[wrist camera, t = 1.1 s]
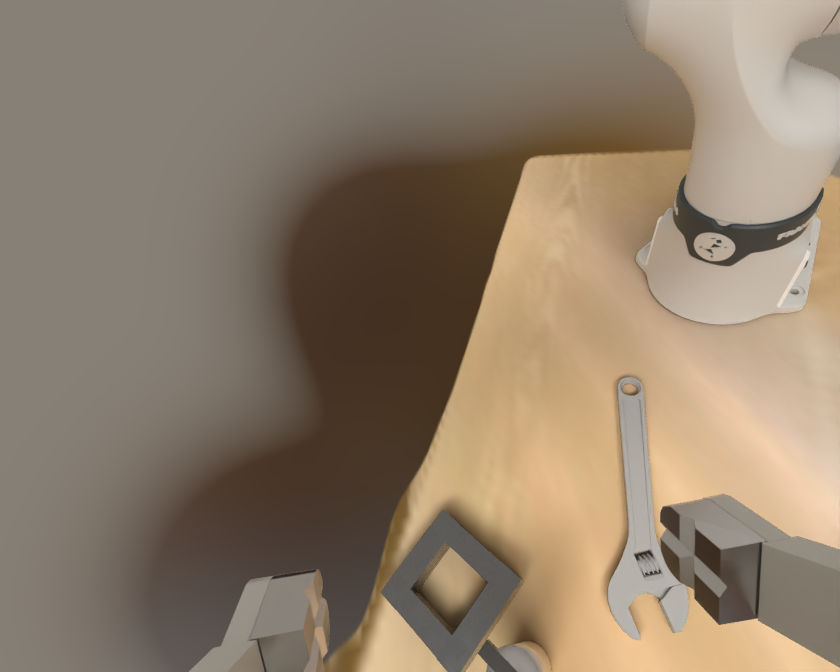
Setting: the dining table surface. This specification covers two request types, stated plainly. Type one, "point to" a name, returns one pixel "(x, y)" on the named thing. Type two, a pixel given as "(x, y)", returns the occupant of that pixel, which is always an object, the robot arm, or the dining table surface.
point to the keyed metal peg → (515, 657)
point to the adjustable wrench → (641, 528)
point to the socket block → (424, 619)
